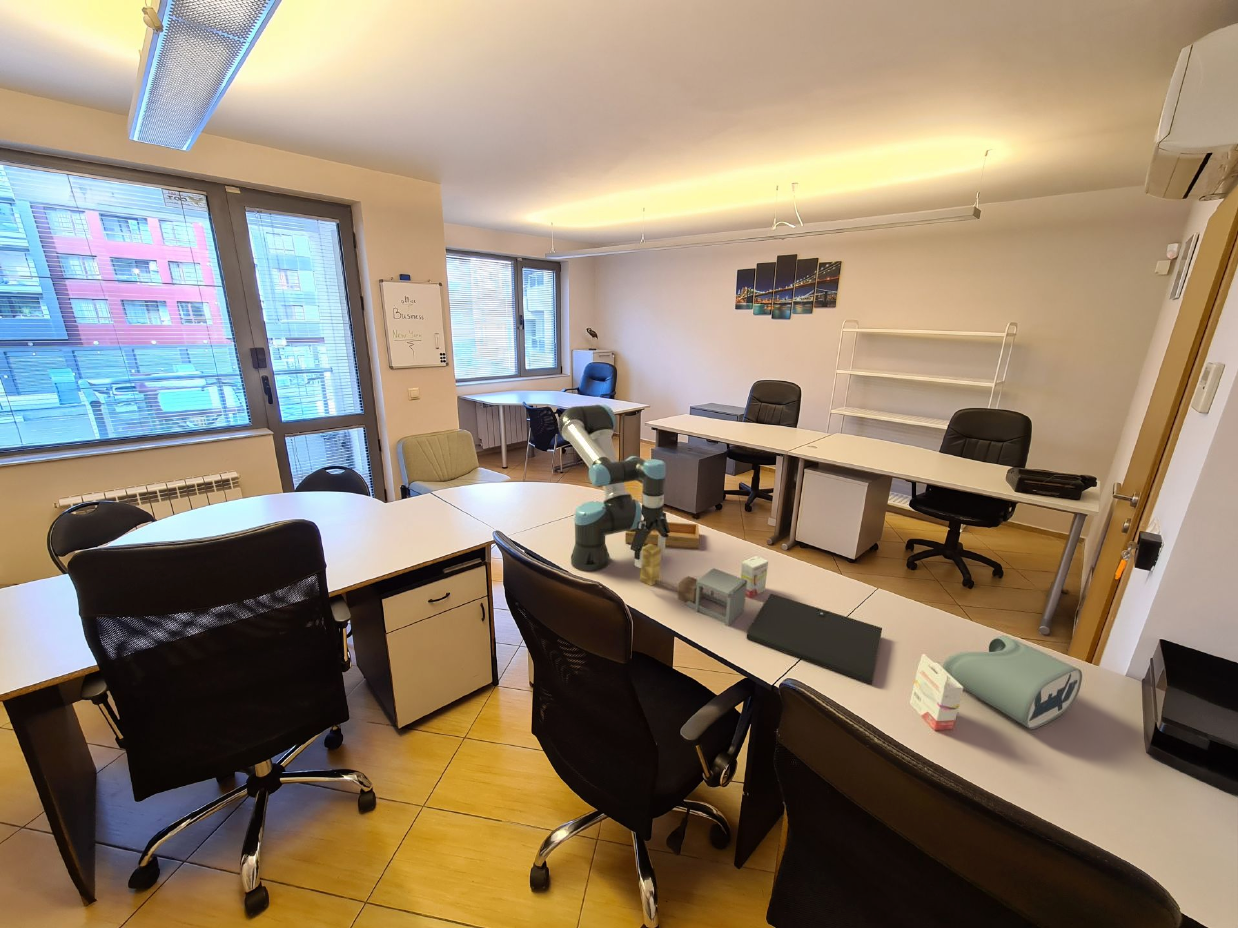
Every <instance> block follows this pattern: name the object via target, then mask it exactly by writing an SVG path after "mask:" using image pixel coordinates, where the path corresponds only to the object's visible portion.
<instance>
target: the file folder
mask: <svg viewBox="0 0 1238 928" xmlns="http://www.w3.org/2000/svg"><path fill="white" fill-rule="evenodd" d="M882 631H883V628H882V627H881V626H877V625H874V624H871V623H868V622H864V621H861V620H857V619H855V618H853V617H848V616H846V615H841V614H838V613H835V612H832V611H830V610H825V609H822V608H819V607H818V606H817V607H815V606H812V605H810V604H806V603H804V602H800V601H796V600H794V599H790V598H787V597H784V596H780V595H778V594H774V593H770V594H769V596H768V597H767V598H766V600H765V602H764V603H763V604H762V606H761V608H760V610H759V611H758V613H756V616H755V618H754V619H753V621H752V622H751V623H750V626H749V627H748V629H747V632H746V639H747V640H750V641H753V642H755V643H758V644H761V645H763V646H766V647H769V648H772V649H774V650H776V651H780V652H783V653H785V654H788V655H790V656H794V657H796V658H798V659H800V660H804V661H807V662H809V663H812V664H815V665H817V666H821V667H822V668H826V669H829V671H830V670H831V671H834V672H836V673H839V674H842V675H845V676H848V677H850V678H852V679H856V680H858V681H861V682H864V683H866V684H868V685H873V680H874V675H875V669H876V665H877V659H878V653H879V652H878V651H879V648H880V643H881V637H882Z"/></svg>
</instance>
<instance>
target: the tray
mask: <svg viewBox="0 0 1238 928" xmlns="http://www.w3.org/2000/svg"><path fill="white" fill-rule="evenodd" d="M643 520H644V519H641V522H643ZM667 523H668V526H669V529H670V533H667V534H669V536H668V537H666V542H665V547H668V548H669V547H672V548H681V549H693V550H698V549H699V546H700V545H699V544H700V532H699V531H700V530H699V524H698V523H689V522H688V523H687V522H675V521H667ZM636 529H637V528H636ZM636 529H633V530H629V531H625V535H624V536H625V539H624V541H625V542H624V543H626V544H632V541H633V538H634V535H635V532H636ZM644 530H646V528H645V529H644ZM647 531H648V530H647ZM659 535H660V534H659V532H658V531H657V529H654V530H652V531H651V533H650V534H648V536H647V539H646V541H645V543H644V545H645V546H646V545H648V544H652V545H655V546H658V536H659ZM660 536H661V535H660Z"/></svg>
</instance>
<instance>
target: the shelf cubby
mask: <svg viewBox="0 0 1238 928" xmlns="http://www.w3.org/2000/svg"><path fill="white" fill-rule="evenodd" d="M696 584H697V590H696V603H692V602H690V601H687V602H686V606H687V607H689V608H691V609H693V610H694V612H697V613H699V612H700V613H702V614H704V615H706V616H709V617H711V618H713V619H716V620H717V621H720V622H722V623H724V625H725V626H726V627H729V626H730V625H731V624H732V623H733V622H734V621H735V620H736V619H737V618H738V617H739V616H740V615H741V614H742V613H743V612H744V611H745V605H746V597H747V596H746V586H747V580H744V579H742V578H741V577H739V576H737V575H734V574H731V573H728V572H726V571H724V570H723V571H722V570H719V569H718V568H715V567H713V568H712V569H710V570H709V571H707V572H706V573H705V574H703V576H701V577H700V578H699V579H698V580H697V581H696ZM700 586H702V587H703V589H704V588H705V589H707V590H709V591H710V593H709V592H706V591H704V590H703V596H702V598H703V597H704V598H705V599H708V600H710V601H712V602H715V603H718V604H719V605H723V606H724V607H726V610H725V616H724V615H722V614H720V613H717V612H715V611H713V610H711V609H708V608H705V607H703V606H702V605H700V600H699V597H700ZM715 593H717V594H719V595H721V596H724V597H727V599H724V598H720V597H718V596H716V595H715Z"/></svg>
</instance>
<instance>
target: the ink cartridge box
mask: <svg viewBox="0 0 1238 928" xmlns="http://www.w3.org/2000/svg"><path fill="white" fill-rule="evenodd" d="M917 666H918V667H917V669H916V674H915V679H914V683H913V688H912V692H911V696H910V701H909V704H910V705H911V706H912V707H913V708H914V710H916V712H917V713H918V714H919V715H920V716H921V718H922V719H924V721H925V723H927V724H928V725H929V726H930V727H931V729H933V730H934V731H945V730H953V729H954V726H955V722H956V718H957V715H958V710H959V707H960V703H961V700H962V699H961V698H962V695H963V691H964V689H963V686H961V685H960V684H959V683H958V682H957V681H956V680H955V679H954V678H953V677H952V676H951V675H950V674H949V673H948V672H946V671H945V670H944V669H943V668H942V667H943V666H941V665H940V664H939V663H938V662H934V661H932V660H931V659H930V658H929V657H928V656H927V655H926V654H925V653H922V655H921V657H920V661H919V663H918V665H917Z"/></svg>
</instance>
